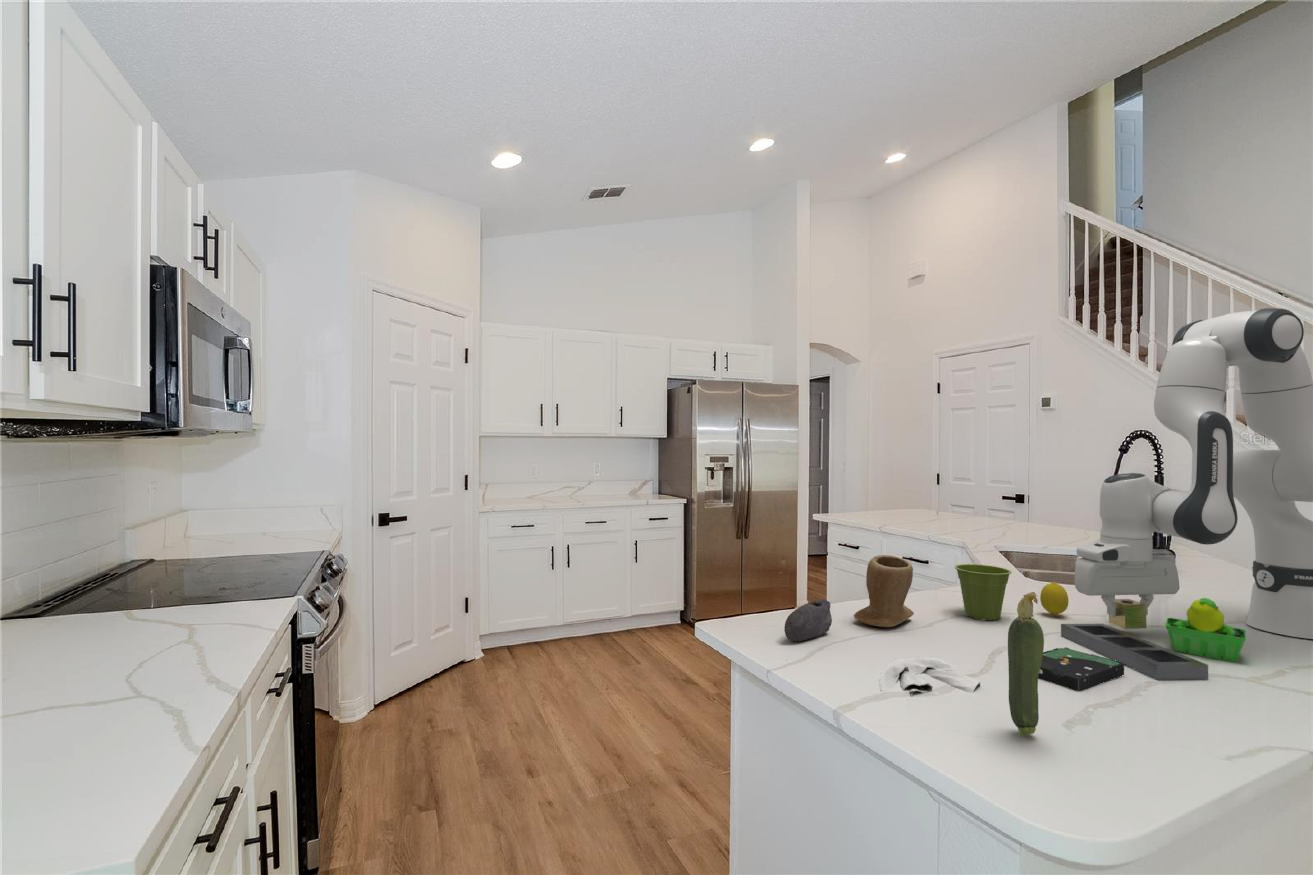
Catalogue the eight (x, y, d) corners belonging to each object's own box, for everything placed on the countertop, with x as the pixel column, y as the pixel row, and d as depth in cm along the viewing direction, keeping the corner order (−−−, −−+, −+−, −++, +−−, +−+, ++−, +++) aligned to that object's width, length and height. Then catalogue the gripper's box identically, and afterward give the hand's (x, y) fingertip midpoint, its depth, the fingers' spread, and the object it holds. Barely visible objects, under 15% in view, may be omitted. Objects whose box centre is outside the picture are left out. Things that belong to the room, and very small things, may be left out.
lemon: (1073, 620, 140) (1072, 585, 140) (1046, 618, 141) (1046, 584, 141) (1062, 613, 146) (1062, 579, 146) (1036, 612, 147) (1036, 578, 147)
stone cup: (898, 635, 129) (898, 564, 129) (847, 623, 137) (846, 557, 138) (928, 621, 139) (928, 555, 140) (878, 611, 148) (878, 548, 148)
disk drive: (1080, 696, 100) (1125, 677, 107) (1080, 678, 100) (1125, 661, 107) (1016, 675, 109) (1062, 659, 116) (1016, 659, 109) (1061, 644, 116)
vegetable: (1001, 726, 87) (1000, 586, 88) (1029, 725, 88) (1029, 586, 88) (1022, 741, 83) (1021, 594, 83) (1052, 740, 83) (1051, 593, 84)
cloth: (941, 659, 117) (941, 646, 117) (1029, 708, 95) (1029, 692, 95) (841, 665, 113) (841, 652, 113) (909, 718, 92) (909, 702, 92)
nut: (1129, 622, 132) (1129, 597, 132) (1146, 628, 128) (1146, 603, 128) (1109, 622, 132) (1108, 598, 132) (1125, 628, 128) (1124, 603, 128)
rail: (1102, 635, 129) (1102, 623, 129) (1208, 679, 105) (1208, 664, 105) (1060, 635, 129) (1060, 623, 129) (1156, 679, 105) (1156, 665, 105)
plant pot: (1023, 624, 137) (1022, 573, 137) (969, 624, 137) (969, 573, 137) (994, 609, 149) (994, 563, 149) (945, 609, 149) (945, 563, 149)
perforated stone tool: (795, 648, 121) (795, 613, 121) (774, 642, 125) (774, 608, 125) (839, 633, 131) (839, 601, 131) (818, 628, 135) (818, 596, 135)
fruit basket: (1245, 655, 117) (1244, 596, 117) (1246, 667, 110) (1245, 605, 111) (1167, 642, 125) (1167, 586, 125) (1164, 653, 118) (1164, 594, 118)
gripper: (1161, 546, 133) (1163, 610, 133) (1069, 548, 133) (1070, 611, 133) (1187, 551, 127) (1188, 618, 127) (1090, 553, 127) (1091, 620, 127)
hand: (1127, 615), depth 130 cm, fingers closed on nut, 4 cm apart
